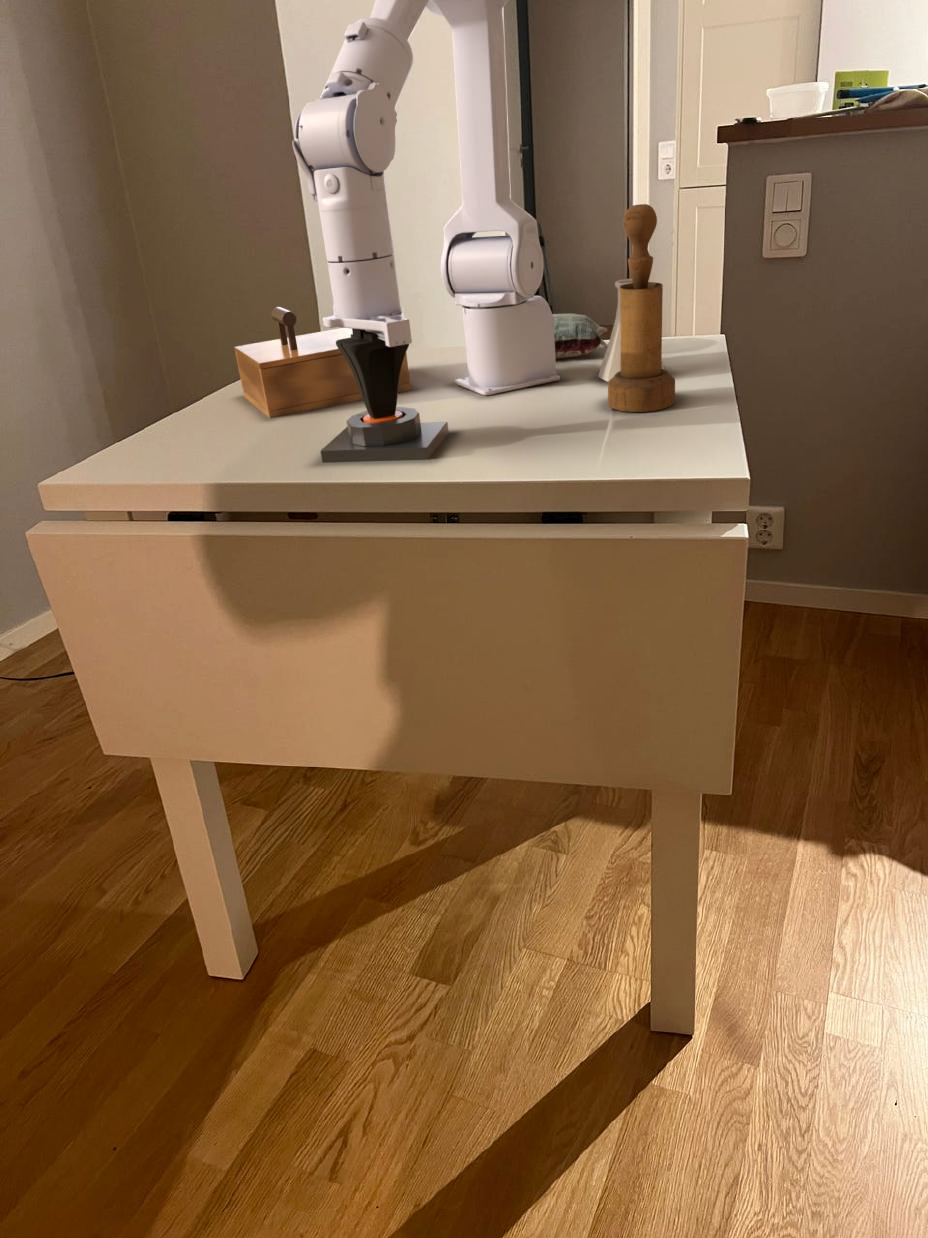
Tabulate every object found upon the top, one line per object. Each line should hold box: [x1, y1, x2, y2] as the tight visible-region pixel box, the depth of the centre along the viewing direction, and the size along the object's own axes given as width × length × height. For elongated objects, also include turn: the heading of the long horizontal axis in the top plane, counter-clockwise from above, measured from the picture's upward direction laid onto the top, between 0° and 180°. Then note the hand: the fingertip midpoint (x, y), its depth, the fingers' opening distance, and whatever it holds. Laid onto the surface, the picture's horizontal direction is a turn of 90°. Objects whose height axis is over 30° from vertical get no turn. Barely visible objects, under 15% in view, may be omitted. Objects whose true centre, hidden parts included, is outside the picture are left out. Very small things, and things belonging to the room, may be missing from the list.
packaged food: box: [552, 313, 608, 360], centre depth 113 cm, size 9×12×5 cm
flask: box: [597, 278, 666, 383], centre depth 99 cm, size 7×7×10 cm
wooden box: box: [235, 352, 412, 419], centre depth 107 cm, size 17×13×5 cm
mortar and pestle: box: [607, 203, 676, 413], centre depth 87 cm, size 7×6×18 cm
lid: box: [233, 306, 353, 369], centre depth 104 cm, size 17×13×5 cm
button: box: [363, 411, 403, 423], centre depth 85 cm, size 4×4×2 cm
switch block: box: [319, 406, 450, 464], centre depth 85 cm, size 10×8×3 cm
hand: (382, 415), depth 84 cm, fingers closed, pressing on button
